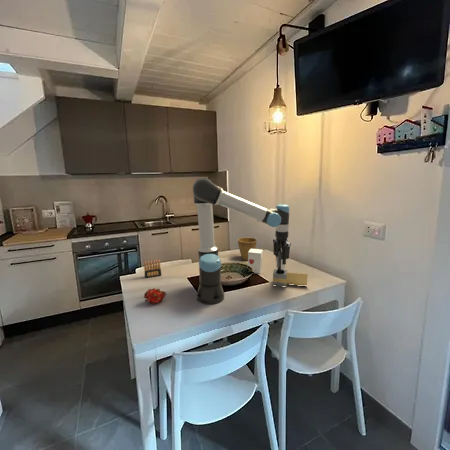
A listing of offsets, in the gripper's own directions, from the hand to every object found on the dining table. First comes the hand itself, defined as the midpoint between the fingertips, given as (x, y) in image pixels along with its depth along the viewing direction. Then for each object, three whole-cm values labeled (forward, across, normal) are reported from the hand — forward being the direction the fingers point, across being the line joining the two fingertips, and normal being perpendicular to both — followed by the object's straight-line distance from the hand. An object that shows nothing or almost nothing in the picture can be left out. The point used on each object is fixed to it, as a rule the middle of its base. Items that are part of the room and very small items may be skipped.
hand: (280, 268), depth 163 cm
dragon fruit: (+10, +16, +73) cm, 76 cm away
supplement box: (+11, +26, 0) cm, 28 cm away
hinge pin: (+4, 0, 0) cm, 4 cm away
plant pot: (+11, +50, -10) cm, 52 cm away
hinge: (+11, 0, -8) cm, 13 cm away
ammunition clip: (+10, +52, +64) cm, 83 cm away
